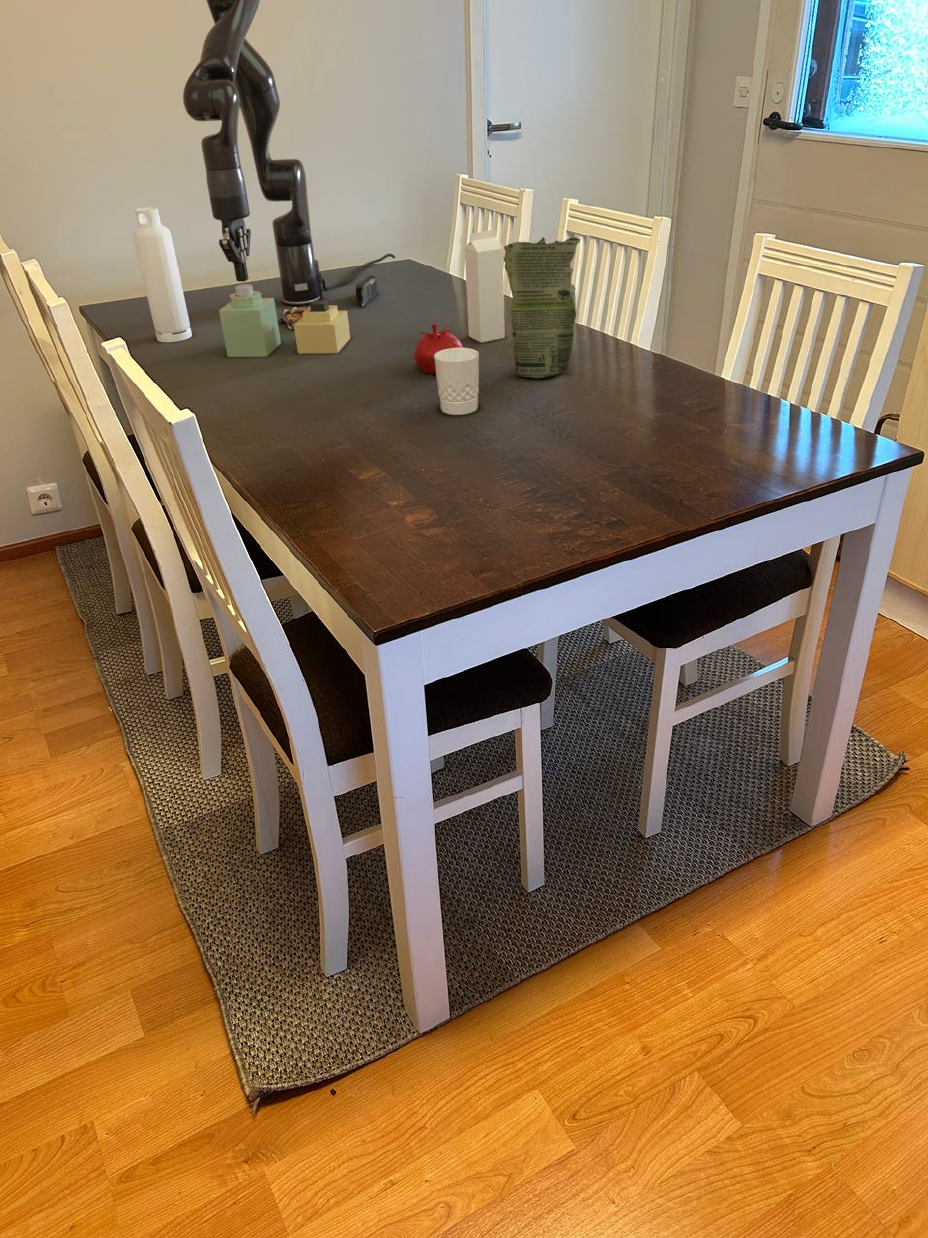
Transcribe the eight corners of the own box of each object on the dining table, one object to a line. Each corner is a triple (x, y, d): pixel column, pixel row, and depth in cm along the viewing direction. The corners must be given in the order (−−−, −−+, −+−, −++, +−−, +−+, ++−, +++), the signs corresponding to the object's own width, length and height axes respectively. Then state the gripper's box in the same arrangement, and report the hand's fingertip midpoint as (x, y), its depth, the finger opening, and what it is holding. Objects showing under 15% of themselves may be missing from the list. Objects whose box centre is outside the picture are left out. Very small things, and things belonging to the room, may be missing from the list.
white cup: (449, 419, 165) (446, 364, 160) (430, 406, 171) (426, 352, 165) (488, 410, 168) (486, 355, 162) (468, 398, 174) (465, 344, 168)
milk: (468, 336, 207) (463, 231, 196) (492, 331, 210) (488, 227, 198) (481, 343, 203) (476, 235, 191) (505, 338, 205) (502, 231, 193)
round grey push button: (240, 294, 202) (238, 284, 201) (256, 294, 202) (254, 283, 201) (234, 298, 199) (232, 288, 198) (250, 298, 199) (248, 287, 198)
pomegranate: (473, 367, 189) (471, 320, 184) (439, 380, 183) (436, 333, 178) (439, 358, 195) (436, 313, 190) (404, 371, 189) (400, 325, 184)
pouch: (501, 374, 184) (497, 240, 171) (539, 358, 192) (538, 229, 178) (545, 384, 178) (545, 246, 164) (583, 368, 185) (585, 234, 171)
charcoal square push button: (314, 309, 204) (313, 299, 203) (329, 308, 204) (327, 299, 203) (310, 313, 202) (309, 303, 201) (325, 312, 201) (323, 303, 200)
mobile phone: (365, 274, 243) (351, 286, 230) (377, 273, 242) (363, 286, 230) (367, 293, 245) (354, 307, 233) (378, 293, 245) (365, 307, 232)
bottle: (196, 331, 222) (170, 204, 207) (185, 341, 215) (157, 211, 200) (164, 332, 223) (136, 206, 208) (151, 342, 216) (121, 212, 201)
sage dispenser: (243, 343, 212) (233, 288, 205) (281, 343, 210) (272, 288, 204) (227, 356, 204) (216, 300, 197) (266, 356, 202) (257, 300, 196)
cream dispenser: (312, 338, 212) (307, 302, 208) (350, 338, 211) (346, 302, 206) (297, 353, 203) (292, 316, 199) (337, 353, 202) (333, 315, 197)
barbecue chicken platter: (294, 332, 217) (292, 316, 215) (277, 321, 226) (275, 306, 224) (322, 327, 220) (320, 311, 218) (304, 316, 229) (302, 301, 227)
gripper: (233, 197, 183) (249, 287, 193) (255, 186, 194) (269, 273, 204) (197, 198, 185) (214, 288, 194) (221, 187, 196) (236, 273, 205)
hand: (242, 280), depth 199 cm, fingers closed
